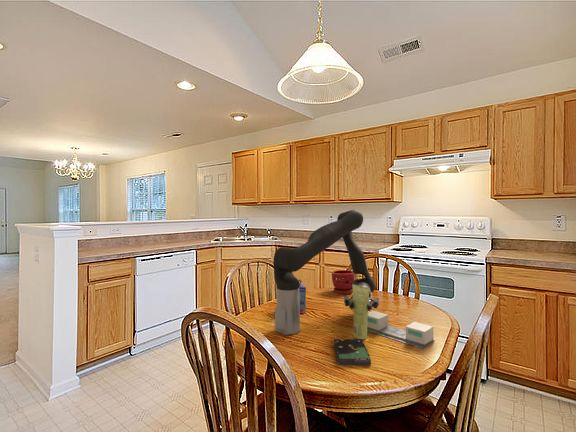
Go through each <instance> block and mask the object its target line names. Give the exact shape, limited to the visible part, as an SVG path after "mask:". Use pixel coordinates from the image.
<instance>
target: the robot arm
mask: <svg viewBox="0 0 576 432" xmlns="http://www.w3.org/2000/svg"><path fill="white" fill-rule="evenodd" d="M336 219H337V220H335V221H332V222H330V223H327V224H324V225H323V226H320V227H319V228H317V229H316V230H314V231H313V232H311V233H310V235H309V237H308V239H307V241H306V242H305V243H303V244H302V245H300V246H298V247H286V246H282V247H278V248H277V249H276V250H275V252H274V255H273V261H272V262H273V277H274V278H273V279H274V282H275V284H276V307H275V308H274V332H276V333H279V334H281V335H282V336H287V335H294V334H295V335H296V334H298V333H299V332H300V330H301V313H300V288H299V287H300V285H299V283H300V281H299V279H298V278H296V276H295V274H294V272H297V271H299V270H301V269H302V268H303V267H304V266H305V265H306V264H307V263H309V262H310V261H311V260H312V259H313V258H315V257H316V256H318V255H319V254H321V252H324V251H325V250H326V249H328V248H330V247H331V246H333V245H334V244H336V242H338V241H339V240H341V239H342V240H343V241H344V245H345V248H346V251H347V252H348V257H349V261H350V265H351V271H353V273H354V274H355V275H362V276H363V278H356V279H354V281H353V282H352V284H354V285H358V286H363V287H368V288H370V291H369V302H368V312H371V311H373V309H377V308H378V307H379V305H380V297H376V298H373V297H372V293H373V292H374V291H375V290H376V284H375V282H374V279H373V278H372V276H371V274H370V272H369V269H368V266H367V262H366V255H365V253H364V251H363V250H362V249H361V247H360V246H359V245H358V243H357V242H356V240H355V239H354V236H353V233H352V232H354V231H355V230H357V229H359V228H361V226H362V225H363V223H364V216H363V214H362V212H360V211H359V210H356V209H351V210H348V211H345V212H341V213H339V214H338V216H337V218H336ZM352 289H353V287H352ZM343 297H344V298H343V301H344V306H345V307H349V309H350V310H352V311H353V295H352V296H350V297H348V296H347V295H344V296H343Z"/></svg>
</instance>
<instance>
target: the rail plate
mask: <svg viewBox="0 0 576 432" xmlns="http://www.w3.org/2000/svg"><path fill="white" fill-rule="evenodd" d="M367 333H372V334H375V335H378V336H381V337H384V338H387V339H391V340H394V341H397V342H400V343H403V344H406V345H409V346H413V347H414V348H415V347H416V348H419V349H421V350H424V348H427V347H428V346H430V344H432V343H434V342H435V341H436V339H435V338H434V337H433V339H432V340H431V341H429V342H428V343H427V344H425V345H424V344H421V343H418V342H415V341H411V340H408V339H406V329H402V328H399V327H396V326H393V325H389V324H388V326H386V327H384V328H382V329H380V330H376V329H373V328H370V327H367Z"/></svg>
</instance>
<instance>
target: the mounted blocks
mask: <svg viewBox="0 0 576 432" xmlns="http://www.w3.org/2000/svg"><path fill="white" fill-rule="evenodd" d="M388 325H389V314H387V313H384V312H380V311H377V310H370V311H368V321H367V327H370V328H373V329H376V330H380V329H382V328H384V327H386V326H388ZM405 330H406V339H408V340H411V341H415V342H418V343H421V344H424V345H425V344H427V343H428V342H429V341H431V340H432V339H433V338H434V326H433V325H429V324H425V323H421V322H418V321H413V322H411V323H410V324H407V325H406V326H405Z"/></svg>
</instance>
